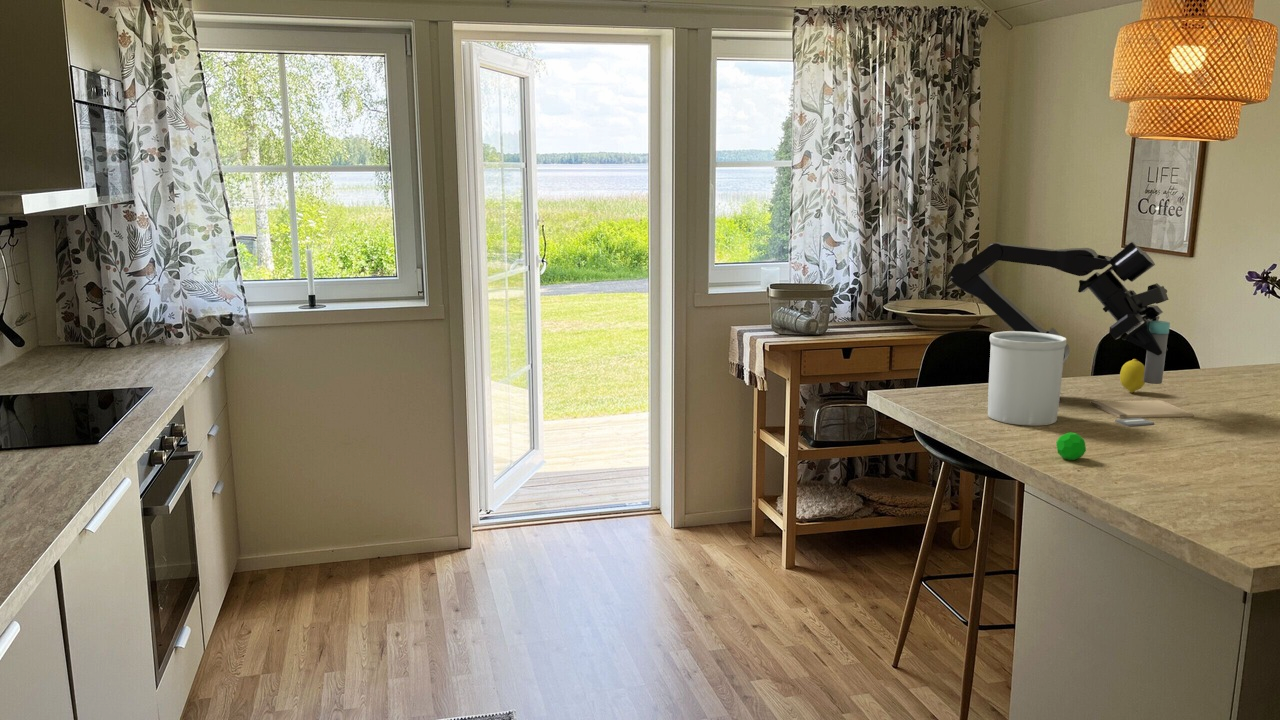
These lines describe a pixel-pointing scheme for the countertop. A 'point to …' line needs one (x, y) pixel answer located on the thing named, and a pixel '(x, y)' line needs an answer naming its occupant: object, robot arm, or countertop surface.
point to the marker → (1153, 361)
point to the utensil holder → (1025, 377)
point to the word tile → (1134, 421)
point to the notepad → (1141, 409)
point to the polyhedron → (1071, 446)
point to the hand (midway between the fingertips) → (1163, 352)
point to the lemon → (1132, 375)
